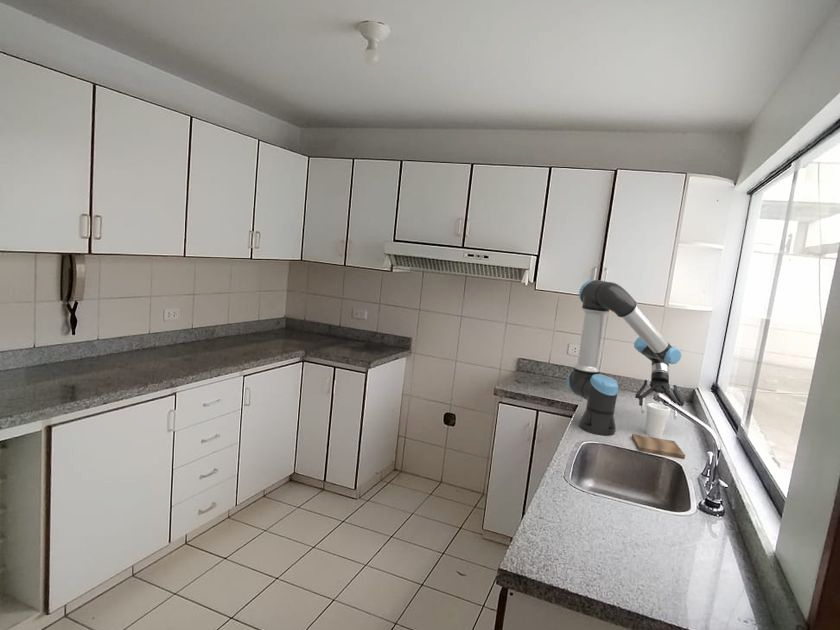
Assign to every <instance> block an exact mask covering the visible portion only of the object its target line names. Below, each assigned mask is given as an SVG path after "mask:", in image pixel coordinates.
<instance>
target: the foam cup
mask: <svg viewBox="0 0 840 630" xmlns="http://www.w3.org/2000/svg"><path fill="white" fill-rule="evenodd" d="M670 414H671V408H670V406H667V405H663V404H660V403H652V402H648V403H647V404H646V418H645V421H646V422H645V434H646V435H648V437H653V438H659V439H660V438H662V435H664V434H663V433H664V431H665V428H666V424H667V422H668V419H669V415H670Z"/></svg>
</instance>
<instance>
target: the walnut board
mask: <svg viewBox="0 0 840 630" xmlns="http://www.w3.org/2000/svg"><path fill="white" fill-rule="evenodd" d="M631 439H632V440H633V443H634V444H635V446H636V449H637V450H638V451H639V452H643V453H650V454H655V455H660V456H667V457H672V458H677V459H681V460H682V459H684V460H685V458H686V454H685V453H684V451H683V450H682V449H681V448H680V446H679V445H678V444H677V442H675V440H670V439H663V438H660V437H659V438H658V437H652V436H646V435H641V434H635V433H632V434H631Z"/></svg>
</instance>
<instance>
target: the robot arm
mask: <svg viewBox="0 0 840 630" xmlns="http://www.w3.org/2000/svg"><path fill="white" fill-rule="evenodd" d="M578 296H579V299H580V302H581V303H582V307H581V309H582V310H583V311H584V316H583V317H584V318H583V324H582V330H581V338H580V345H579V350H578V351H579V352H578V358H577V363H576V364H575V365H574V366H573V369H571V370H570V372H569V373H568V375H567V379H566V383H567V388H568V389H569V390H570V391H571V392H573V393H574V394H575V395H576V396H579V397H581V398H583V399H584V400H586V408H585V411H584V412H583V415H582V416H581V418H580V420H579V424H578V426H579V427H580V428H581V429H582V430H584V431H586V432H588V433H590V434H591V433H592V434H595V435H598V436H599V435H601V436H614V435H615V433H616V430H617V427H616V421H615V416H614V415H615V409H616V402H617V399H618V398H617V397H618V393H619V383H618V381H617V380H616V379H614V378H613V377H611V376H607V375H605V374H601V370H600V368H599V367H598V362H599V356H600V348H601V341H602V337H603V336H602V335H603V329H604V328H603V327H604V321H605V316H606V314H608V313H609V311H611V312H613V313H614V314H615V315H616V316H617V317H619V318H622V319H623V320H624V321H625V322H626V323H627V324H628V326H629V327H630V328H631V329H632V330H633V331H634V332H635V334H636V335H637V336H638V337H637V338H636V340H635V341H634V343H633V346H634V349H635V350H636V351H638V353H640V354H641V355H643V356H644V357H645V358H646V359H648V360H650V362H651V374H650V376H651V377H650V381H648V380H646V379H644V381H643V385H641V386H640V389H639V390H638V391H637V392H636V394H635V396H634V397H635V399H638V402H639V403H638V404H639V406H640V407H641V408H640V409H641V412H640V413H641V414H644V412H645V400H646V398H647V397H648V396H649V395H650V394H652V393H653V392H655V393H656V394H657V393H659V394H664V395H665V396H667V397H668V399H669V400H670V401H671V402H672V401H673V402H674V403H675V404H677V405H679V406H680V407H683V406H684V405H685V401H684V399H683V398H682V396H681V394H680V392H679V390H678V389H677V385H676V384H673V385H670V383H669V382H670V365H676V364H677V363H679V362H680V360H681V359H682V352H681V349H679V348H677V347H675V346H672V345H671V344H670V343H669V342H668V340H667V339H666V338H665V337H664V336H663V335H662V334H661V333H660V332H659V330H658V329H657V328H656V326H654V325H653V323H652V322H651V321H650V320H649V319H648V317H647V316H645V314H644V313H643V312H642V310H640V308H639V307H638V302H637V301H636V300H635V299H634V298H633V296H631V294H629V292H628V291H627V290H626V289H624V288H623V287H622V286H621V285H619V284H618V283H616V282H611V281H605V280H599V279H590V280H587V281H585V282H584V283H583V284H582V285H581V287H580V288H579V293H578ZM648 386H649V387H650V388H649V389H648V390H645V389H646V387H648ZM644 390H645V392H644ZM670 390H671V391H672V392H673V393H672V392H671V391H670ZM673 402H672V403H673ZM674 403H673V404H674ZM675 404H674V405H675ZM677 417H678V412H677V411H676V410H674V409H673V420H677Z"/></svg>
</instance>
